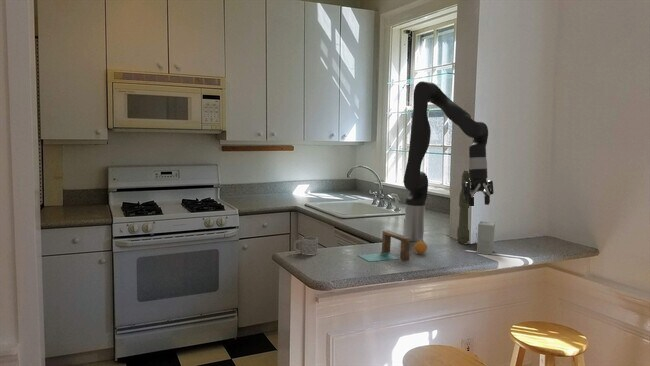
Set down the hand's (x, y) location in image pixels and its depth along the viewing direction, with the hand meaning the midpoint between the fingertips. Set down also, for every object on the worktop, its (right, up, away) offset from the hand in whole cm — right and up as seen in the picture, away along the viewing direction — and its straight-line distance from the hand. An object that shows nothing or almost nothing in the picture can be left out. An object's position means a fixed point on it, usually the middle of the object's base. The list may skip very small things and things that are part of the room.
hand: (479, 205), depth 220 cm
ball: (-26, -18, -2) cm, 32 cm away
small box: (+4, -21, +4) cm, 22 cm away
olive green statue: (+1, -19, +24) cm, 30 cm away
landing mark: (-45, -21, -10) cm, 51 cm away
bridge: (-38, -21, -7) cm, 44 cm away
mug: (-75, -20, -7) cm, 78 cm away
